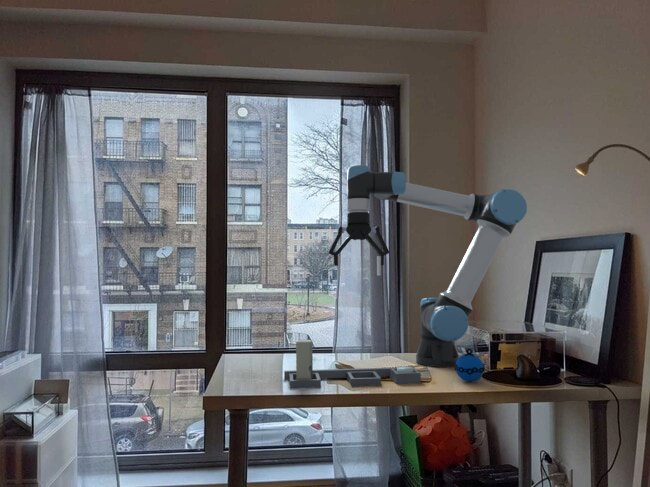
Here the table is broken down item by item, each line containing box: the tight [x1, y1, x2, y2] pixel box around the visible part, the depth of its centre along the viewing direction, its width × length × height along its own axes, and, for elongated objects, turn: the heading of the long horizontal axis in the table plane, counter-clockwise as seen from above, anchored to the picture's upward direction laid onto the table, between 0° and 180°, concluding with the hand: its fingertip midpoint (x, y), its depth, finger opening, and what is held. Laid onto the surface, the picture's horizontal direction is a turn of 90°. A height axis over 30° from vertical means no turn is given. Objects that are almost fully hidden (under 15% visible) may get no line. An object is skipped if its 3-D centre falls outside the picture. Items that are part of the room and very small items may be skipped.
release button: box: [396, 365, 413, 373], centre depth 150 cm, size 5×5×2 cm
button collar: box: [389, 366, 422, 385], centre depth 150 cm, size 8×8×3 cm
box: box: [295, 339, 314, 380], centre depth 147 cm, size 5×4×13 cm
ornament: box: [454, 348, 485, 383], centre depth 148 cm, size 9×9×10 cm
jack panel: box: [283, 367, 391, 389], centre depth 149 cm, size 38×11×2 cm, turn 96°
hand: (358, 275), depth 162 cm, fingers open, 13 cm apart
